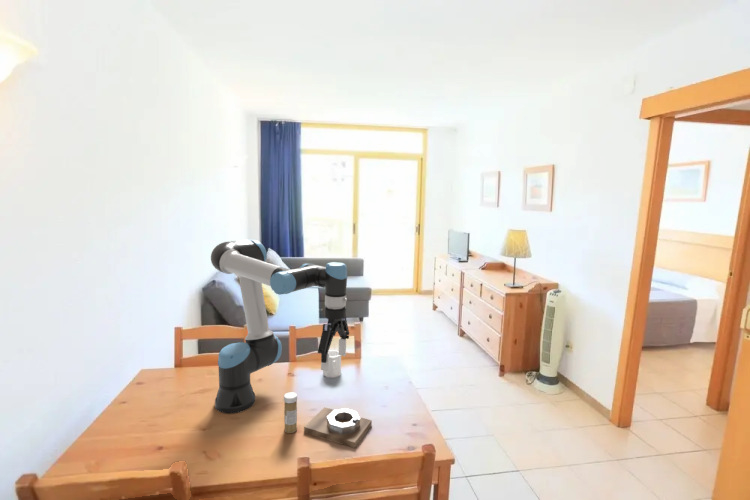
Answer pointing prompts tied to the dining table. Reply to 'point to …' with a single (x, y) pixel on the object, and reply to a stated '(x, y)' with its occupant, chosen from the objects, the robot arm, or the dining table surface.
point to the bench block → (321, 430)
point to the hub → (343, 427)
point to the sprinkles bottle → (290, 412)
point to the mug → (333, 364)
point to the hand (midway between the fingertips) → (333, 362)
